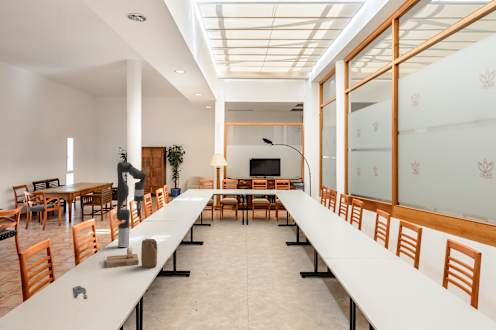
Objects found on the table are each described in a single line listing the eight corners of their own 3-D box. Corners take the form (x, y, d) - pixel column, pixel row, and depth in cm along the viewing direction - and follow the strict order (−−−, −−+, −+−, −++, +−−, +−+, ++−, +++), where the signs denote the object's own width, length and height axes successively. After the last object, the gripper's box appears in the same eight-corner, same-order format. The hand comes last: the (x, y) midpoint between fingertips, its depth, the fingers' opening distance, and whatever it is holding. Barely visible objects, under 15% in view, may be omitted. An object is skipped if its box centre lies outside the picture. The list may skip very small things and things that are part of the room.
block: (140, 267, 230) (140, 240, 229) (144, 264, 237) (144, 237, 237) (154, 268, 229) (155, 240, 229) (158, 265, 237) (158, 238, 236)
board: (106, 260, 245) (106, 256, 245) (136, 257, 253) (137, 253, 253) (106, 267, 228) (106, 263, 228) (138, 264, 237) (138, 260, 237)
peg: (126, 261, 244) (126, 248, 244) (131, 260, 245) (132, 247, 245) (126, 262, 240) (127, 249, 240) (132, 262, 242) (132, 249, 242)
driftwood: (73, 288, 193) (73, 284, 193) (85, 286, 196) (85, 282, 196) (73, 302, 175) (73, 298, 175) (87, 299, 178) (87, 296, 178)
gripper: (133, 194, 262) (133, 215, 262) (134, 196, 250) (134, 218, 250) (143, 194, 265) (142, 214, 265) (144, 195, 253) (144, 217, 253)
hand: (138, 216), depth 258 cm, fingers closed
